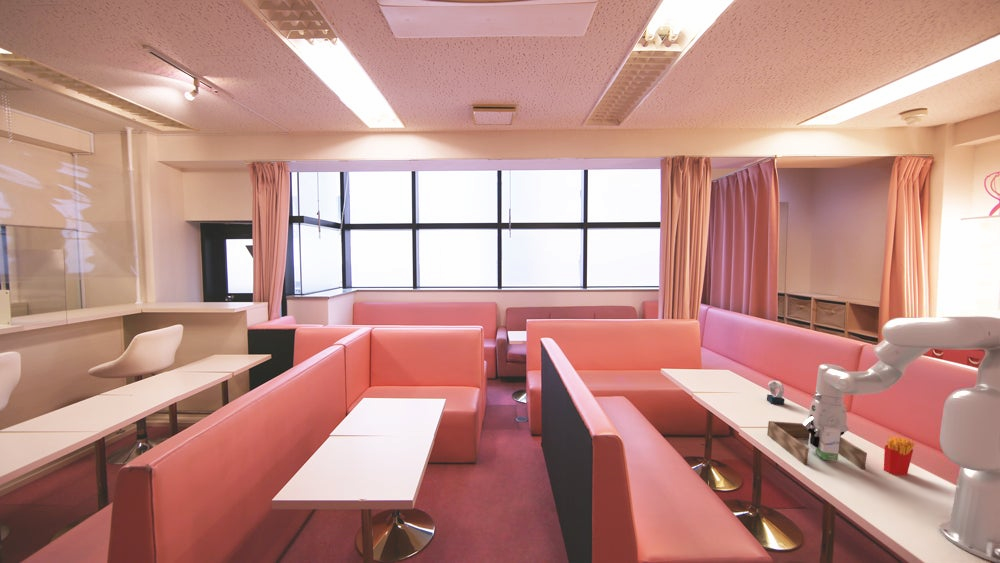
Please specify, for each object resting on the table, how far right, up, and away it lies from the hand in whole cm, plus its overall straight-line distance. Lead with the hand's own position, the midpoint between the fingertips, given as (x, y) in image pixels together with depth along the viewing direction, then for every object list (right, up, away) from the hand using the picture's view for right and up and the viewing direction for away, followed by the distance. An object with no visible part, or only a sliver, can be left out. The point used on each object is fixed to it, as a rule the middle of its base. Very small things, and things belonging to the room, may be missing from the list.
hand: (823, 445), depth 131 cm
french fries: (+19, -6, -7) cm, 21 cm away
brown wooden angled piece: (0, -4, +5) cm, 6 cm away
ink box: (0, -3, 0) cm, 3 cm away
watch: (+19, -1, +48) cm, 52 cm away
